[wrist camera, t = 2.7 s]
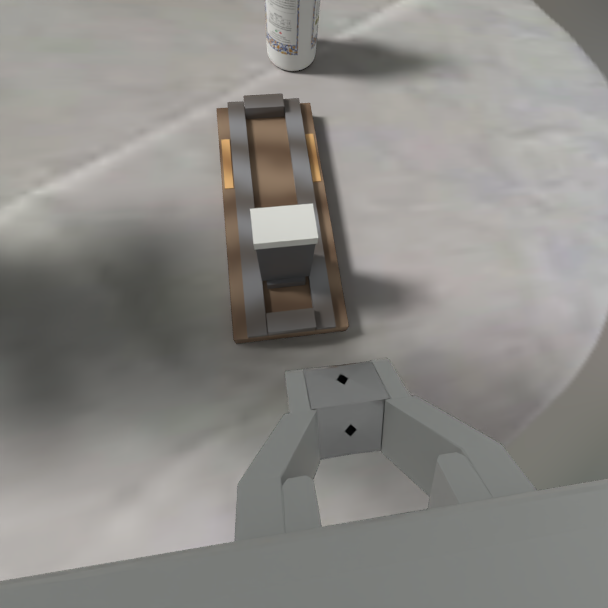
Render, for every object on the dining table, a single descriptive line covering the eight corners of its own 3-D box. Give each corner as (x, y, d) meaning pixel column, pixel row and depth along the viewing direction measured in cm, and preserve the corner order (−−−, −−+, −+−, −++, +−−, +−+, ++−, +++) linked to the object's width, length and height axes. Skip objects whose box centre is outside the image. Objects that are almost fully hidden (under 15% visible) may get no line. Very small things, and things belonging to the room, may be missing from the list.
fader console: (345, 330, 38) (351, 322, 34) (236, 343, 36) (231, 336, 33) (309, 115, 46) (310, 91, 43) (219, 121, 45) (213, 97, 42)
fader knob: (310, 284, 36) (319, 242, 27) (262, 289, 36) (253, 248, 27) (305, 250, 38) (312, 199, 28) (258, 255, 37) (249, 204, 28)
